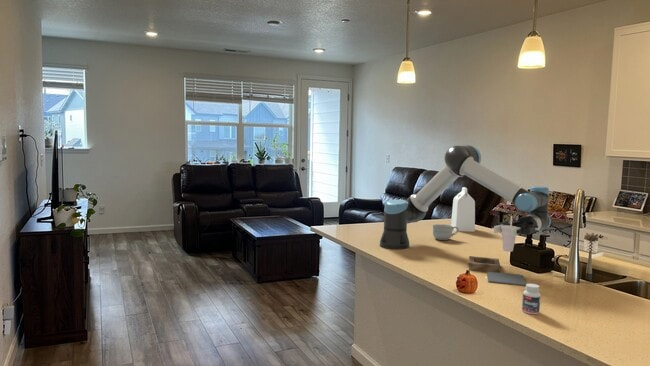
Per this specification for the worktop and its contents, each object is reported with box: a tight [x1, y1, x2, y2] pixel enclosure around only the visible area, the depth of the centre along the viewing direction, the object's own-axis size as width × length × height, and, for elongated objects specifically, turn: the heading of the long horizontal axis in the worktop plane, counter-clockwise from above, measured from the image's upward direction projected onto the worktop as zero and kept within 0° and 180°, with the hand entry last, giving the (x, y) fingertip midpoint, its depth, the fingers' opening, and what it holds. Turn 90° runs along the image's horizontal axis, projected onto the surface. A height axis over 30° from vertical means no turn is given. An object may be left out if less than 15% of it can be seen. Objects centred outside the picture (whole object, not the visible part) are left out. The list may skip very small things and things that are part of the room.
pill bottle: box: [521, 283, 541, 315], centre depth 155 cm, size 5×5×9 cm
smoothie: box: [501, 215, 517, 253], centre depth 190 cm, size 6×6×14 cm
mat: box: [486, 271, 527, 287], centre depth 191 cm, size 14×14×1 cm
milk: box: [450, 186, 476, 232], centre depth 293 cm, size 12×12×26 cm
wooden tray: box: [468, 255, 501, 273], centre depth 208 cm, size 12×12×3 cm
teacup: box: [432, 223, 460, 241], centre depth 263 cm, size 14×11×8 cm
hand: (503, 231), depth 186 cm, fingers closed on smoothie, 6 cm apart
